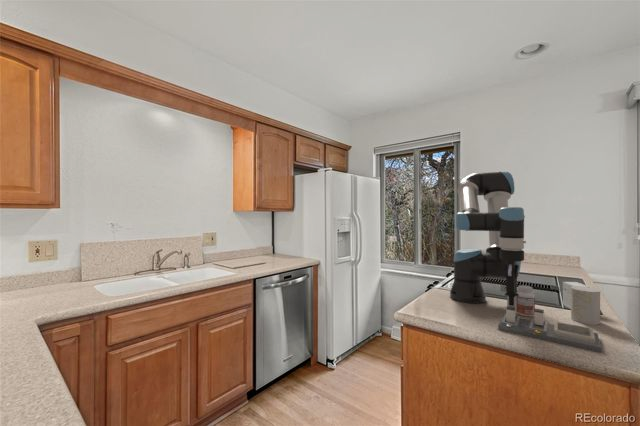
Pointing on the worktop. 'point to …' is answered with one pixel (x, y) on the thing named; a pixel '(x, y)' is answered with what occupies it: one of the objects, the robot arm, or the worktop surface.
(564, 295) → the small box
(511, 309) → the toggle
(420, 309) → the worktop surface
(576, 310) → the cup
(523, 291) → the pill bottle
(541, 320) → the toggle
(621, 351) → the worktop surface
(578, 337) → the panel
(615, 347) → the worktop surface
